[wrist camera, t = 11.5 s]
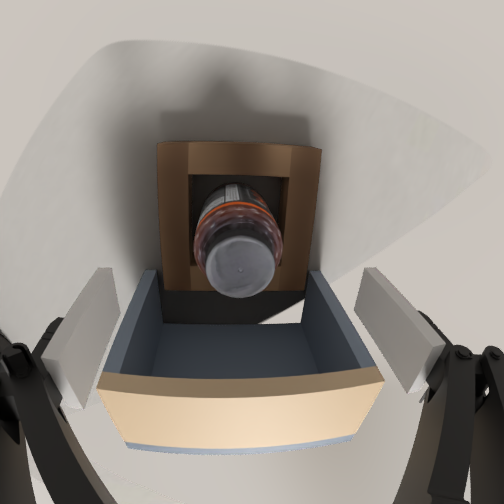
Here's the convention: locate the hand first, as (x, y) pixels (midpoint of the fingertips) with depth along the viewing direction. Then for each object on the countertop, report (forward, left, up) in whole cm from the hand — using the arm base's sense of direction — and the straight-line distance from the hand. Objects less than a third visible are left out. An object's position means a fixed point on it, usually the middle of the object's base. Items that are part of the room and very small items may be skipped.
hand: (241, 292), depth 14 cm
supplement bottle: (0, 0, -14) cm, 14 cm away
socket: (0, 0, -14) cm, 14 cm away
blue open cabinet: (0, -10, -14) cm, 17 cm away
